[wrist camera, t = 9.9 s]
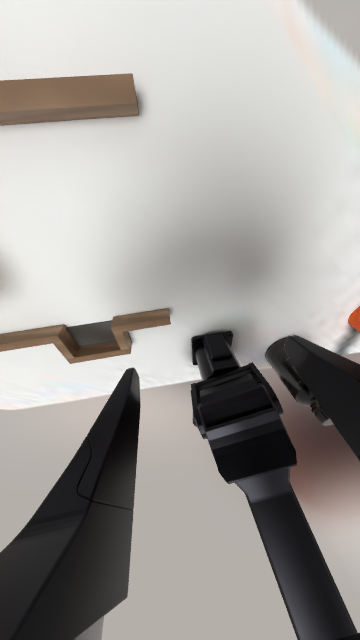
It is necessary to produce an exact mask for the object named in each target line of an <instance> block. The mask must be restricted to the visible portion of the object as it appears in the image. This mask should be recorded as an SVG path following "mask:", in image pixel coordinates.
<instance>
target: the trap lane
mask: <svg viewBox="0 0 360 640" xmlns="http://www.w3.org/2000/svg"><path fill="white" fill-rule="evenodd" d="M124 116H138V107H137V100H136V93H135V87H134V80H133V74H115V75H96V76H78V77H60V78H41V79H23V80H4V81H0V125H12V124H26V123H40V122H54V121H68V120H82V119H96V118H110V117H124ZM169 324H171V323H170V316H169V310H168V309H162V310H156V311H149V312H143V313H136V314H130V315H123V316H117V317H113V320H112V321H106V322H99V323H93V324H86V325H80V326H74V327H67V328H66V327H65V325H58V326H52V327H45V328H39V329H32V330H26V331H19V332H13V333H6V334H0V352H1V351H7V350H14V349H20V348H26V347H32V346H39V345H45V344H51V343H53V344H54V345H55V346H56V347H57V349H58V350H59V351H60V352H61V353H62V355H63V356H64V357H65V358H66V359H67V361H68V362H69V363H70V364H72V363H78V362H84V361H90V360H96V359H102V358H107V357H113V356H119V355H125V354H131V345H132V342H131V340H130V337H129V334H128V332H127V331H132V330H138V329H144V328H151V327H157V326H163V325H169Z"/></svg>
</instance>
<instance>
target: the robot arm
mask: <svg viewBox="0 0 360 640" xmlns="http://www.w3.org/2000/svg"><path fill="white" fill-rule="evenodd" d="M229 334H230V335H229ZM232 338H233V333H232V332H231V331H228V332H222V333H216V334H210V335H204V336H198V337H193V338H192V339H191V345H192V362H193V365H198V367H199V370H200V374H201V377H202V381H201V382H198V383H193V384H191V388H192V390H191V396H192V406H193V424H194V425H195V426H196V427H198V429H199V431H200V433H201V435H202V437H203V439H208V441H209V444H210V447H211V450H212V453H213V456H214V458H215V461H216V464H217V467H218V471H219V473H220V474H221V476H222V477H223V478H224V480H225V481H226V482H227V483H228V484H231V483H236V484H237V485H238V486H239V487H240V489H242V491H243V492H244V493H245V495H246V497H247V500H248V503H249V506H250V508H251V511H252V514H253V517H254V519H255V522H256V525H257V528H258V531H259V533H260V536H261V539H262V542H263V544H264V547H265V550H266V553H267V556H268V558H269V561H270V564H271V567H272V570H273V572H274V575H275V578H276V581H277V583H278V586H279V589H280V592H281V595H282V597H283V600H284V603H285V605H286V608H287V611H288V614H289V617H290V619H291V622H292V625H293V628H294V630H295V633H296V636H297V639H298V640H360V633H357V630H356V628H355V626H354V624H353V622H352V620H351V617H350V615H349V613H348V610H347V608H346V606H345V604H344V602H343V599H342V597H341V595H340V593H339V591H338V588H337V586H336V584H335V582H334V579H333V577H332V575H331V573H330V571H329V569H328V566H327V564H326V562H325V559H324V557H323V555H322V553H321V551H320V549H319V546H318V544H317V542H316V539H315V537H314V535H313V533H312V531H311V529H310V526H309V524H308V522H307V520H306V518H305V515H304V513H303V511H302V508H301V507H300V504H299V502H298V500H297V498H296V495H295V493H294V491H293V489H292V486H291V484H290V481H289V479H290V478H289V477H290V467H293V466H296V465H297V460H296V451H295V448H294V447H293V445H292V443H291V440H290V438H289V435H288V433H287V431H286V429H285V427H284V425H283V422H282V420H281V418H280V416H281V415H283V410H282V407H281V405H280V402H279V400H278V398H277V396H276V394H275V393H274V391H273V389H272V388H271V387H270V385H269V383H268V382H267V381H266V380H265V378H264V377H263V376H262V374H261V373H260V372H259V370H258V369H257V368H256V366H255V365H254V364H253V362H252V363H249V365H246V366H243V367H241V366H240V365H239V363H238V361H237V359H236V357H235V355H234V353H233V351H232V349H231V344H232ZM194 340H195V341H194ZM284 349H285V351H286V353H287V355H288V357H289V358H290V360H291V362H292V364H293V366H294V367H295V369H296V371H297V372H298V374H299V375H300V377H301V378H302V380H303V381H304V383H305V384H306V385H307V387H308V388H309V390H310V391H311V393H312V394H313V395H314V397H315V398H316V400H317V401H318V402H319V404H320V405H321V407H322V408H323V410H324V411H325V412H326V414H327V415H328V417H329V418H330V419H331V421H332V422H333V424H334V425H335V426H336V428H337V429H338V431H339V432H340V434H341V435H342V436H343V438H344V439H345V441H346V442H347V444H348V445H349V446H350V448H351V449H352V451H353V452H354V453H355V455H356V456H357V457H358V459H359V461H360V364H358V363H356V362H353V361H351V360H349V359H347V358H345V357H342V356H340V355H338V354H336V353H334V352H332V351H329V350H327V349H325V348H323V347H321V346H318V345H316V344H314V343H312V342H310V341H308V340H305V339H303V338H301V337H299V336H296V335H292V336H288V337H287V339H286V342H285V344H284ZM139 420H140V385H139V376H138V374H137V372H136V370H135V368H129V369H127V370H126V371H125V373H124V374H123V376H122V378H121V379H120V381H119V383H118V384H117V386H116V388H115V389H114V391H113V393H112V394H111V396H110V398H109V399H108V401H107V403H106V404H105V406H104V408H103V409H102V411H101V413H100V415H99V416H98V418H97V420H96V421H95V423H94V425H93V426H92V428H91V430H90V432H89V433H88V435H87V437H86V438H85V440H84V441H83V443H82V444H81V446H80V448H79V449H78V451H77V453H76V454H75V456H74V457H73V459H72V460H71V462H70V463H69V465H68V466H67V468H66V469H65V471H64V472H63V474H62V475H61V477H60V478H59V480H58V481H57V482H56V484H55V485H54V487H53V488H52V490H51V491H50V492H49V494H48V495H47V497H46V498H45V500H44V501H43V502H42V504H41V505H40V507H39V508H38V510H37V511H36V512H35V514H34V515H33V517H32V518H31V519H30V521H29V522H28V523H27V525H26V526H25V527H24V528H23V529H22V530H21V532H20V533H19V534H18V535H17V536H16V537H15V538H14V540H13V541H12V542H11V543H10V544H9V545H8V546H7V547H6V548H5V549H3V551H2V552H0V640H101V638H102V629H103V621H104V615H106V614H107V613H108V612H109V611H111V610H112V609H113V608H114V607H116V606H117V605H118V604H119V603H121V602H122V601H123V600H125V599H126V598H127V593H128V582H129V567H130V552H131V538H132V522H133V507H134V493H135V478H136V464H137V449H138V434H139Z"/></svg>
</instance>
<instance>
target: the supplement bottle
mask: <svg viewBox="0 0 360 640" xmlns="http://www.w3.org/2000/svg"><path fill="white" fill-rule="evenodd" d="M286 339H287V338H284V339H281V340H279V341H277V342H276V343H274V344H273V345H272V346H271V347H270V348H269V349H268V351H267V353H266V359H267V361H268V362H269V363H270V365H271V366H272V368H273V369H274V371H275V372H276V373H277V375H278V376H279V378H280V379H281V381H282V382H283V383H284V385H285V386H286V388H287V389H288V391H289V392H290V393H291V395H292V396H293V398H294V399H295V400H296V401H297V402H298V403H300V404H301V405H304V406H309V407H311V408H312V410H311V411H312V413H313V414H314V415H315V416H316V417H317V418H318V420H319V421H320V422H321V424H323V425H332V424H333V422H332V421H331V419H330V418H329V417H328V415H327V414H326V412H325V411H324V410H323V408H322V407H321V405H320V404H319V402H318V401H317V400H316V398H315V397H314V395H313V394H312V393H311V391H310V390H309V388H308V387H307V385H306V384H305V383H304V381H303V380H302V378H301V377H300V375H299V374H298V372H297V371H296V369H295V367H294V366H293V364H292V362H291V360H290V358H289V357H288V355H287V353H286V351H285V349H284V344H285V342H286Z"/></svg>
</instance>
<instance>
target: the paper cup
mask: <svg viewBox="0 0 360 640" xmlns="http://www.w3.org/2000/svg"><path fill="white" fill-rule="evenodd" d="M348 322H349V324H350V325H351V326H352V327H354V328H355V329H356V330H357V331H359V332H360V307H359V308H357V309H356V310H355V311H354V312H353V313H352V314H351V316H350V317H349V320H348Z"/></svg>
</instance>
